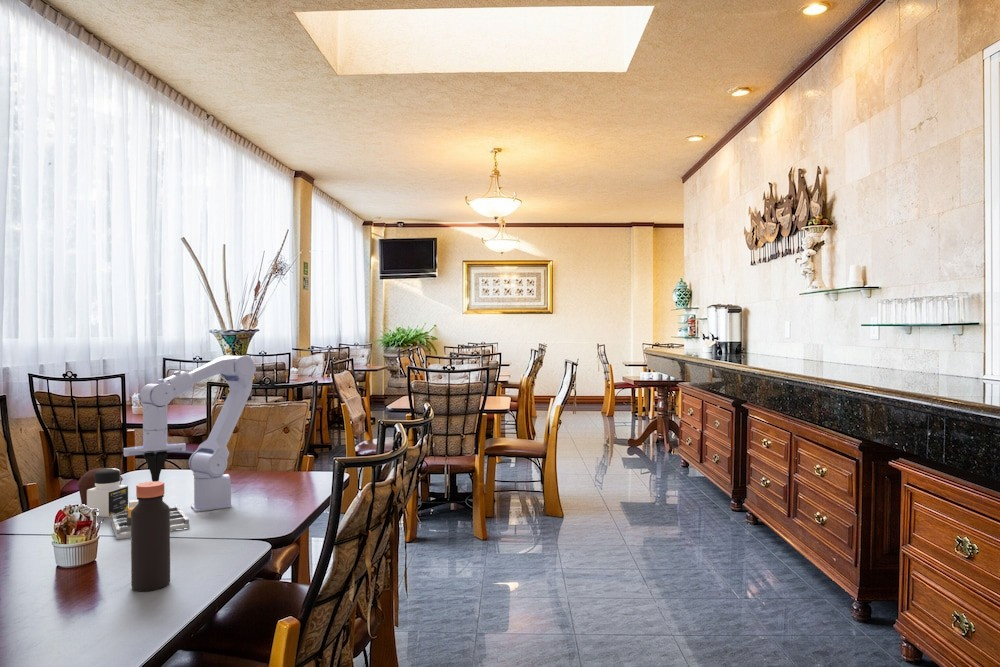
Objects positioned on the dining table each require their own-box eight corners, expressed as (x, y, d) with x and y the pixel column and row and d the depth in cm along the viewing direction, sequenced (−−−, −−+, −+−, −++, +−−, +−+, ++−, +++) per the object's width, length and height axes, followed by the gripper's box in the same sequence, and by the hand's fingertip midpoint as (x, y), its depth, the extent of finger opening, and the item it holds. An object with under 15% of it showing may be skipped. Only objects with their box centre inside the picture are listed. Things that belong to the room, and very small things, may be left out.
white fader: (140, 515, 178) (140, 499, 178) (141, 518, 176) (141, 501, 176) (127, 517, 177) (127, 500, 177) (128, 520, 174) (128, 502, 174)
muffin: (67, 506, 193) (67, 471, 193) (103, 497, 204) (103, 464, 203) (97, 510, 189) (96, 474, 189) (132, 501, 199) (131, 467, 199)
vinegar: (129, 594, 129) (129, 489, 129) (133, 582, 135) (132, 482, 135) (169, 588, 132) (168, 486, 132) (170, 577, 138) (170, 479, 138)
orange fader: (140, 523, 171) (140, 506, 171) (141, 526, 169) (141, 508, 169) (126, 525, 169) (126, 507, 169) (127, 528, 167) (127, 510, 167)
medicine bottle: (109, 517, 182) (108, 472, 182) (86, 516, 183) (86, 471, 183) (128, 510, 189) (128, 467, 189) (106, 509, 190) (106, 466, 190)
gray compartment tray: (177, 512, 187) (177, 504, 187) (189, 528, 172) (189, 519, 172) (110, 521, 178) (110, 513, 178) (116, 539, 163) (116, 530, 163)
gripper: (182, 425, 186) (182, 474, 186) (122, 429, 178) (122, 481, 178) (187, 428, 180) (187, 479, 180) (125, 433, 172) (125, 486, 172)
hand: (155, 480), depth 179 cm, fingers closed
